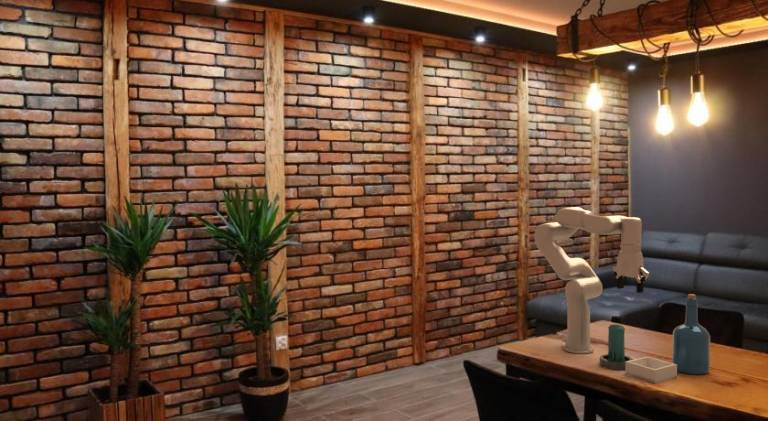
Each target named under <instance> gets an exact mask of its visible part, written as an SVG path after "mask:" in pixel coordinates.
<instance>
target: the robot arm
mask: <svg viewBox="0 0 768 421" xmlns="http://www.w3.org/2000/svg"><path fill="white" fill-rule="evenodd" d="M642 225H643V223H642V219H641V218H639V217H634V216H632V217H631V216H629V217H628V216H625V215H608V216H607V215H606V216H604V215H603V216H602V215H595V214H594V213H593V212H592V211H591V210H585V209H583V208H582V207H579V206H570V207H563V208H560V209H559V210H558V211H557V212H556V214H555V222H544V223H542V224H539V225H538V226H537V227H536V229H535V230H534V231H535V232H534V242H535V245H536V247H537V249H538V250H539V252H540V253H541V254H542V255H543V257H545V259H546V261H547V262H548V264H549V265H550V266H551V268H552V269H553V271H554V272H555V274H556V275H557V277H558V278H559V279H560V280H562V281H568V282H567V283H566V285H565V287H564V292H565V298H566V304H567V305H566V307H567V311H566V312H567V317H566V318H567V322H566V323H567V324H566V325H567V328H566V329H567V331H566V332H567V334H566V336H563V338H562V339H561V342H563V343H565V344H564V346H563V350H564V351H565V352H568V353H573V354H581V355H582V354H583V355H584V354H591V353H593V352H594V349H595V348H594V346H591V308H590V305H589V303H588V300H591V299H595V298H598V297H599V296H601V295H602V293H603V289H604V288H603V283H602V282H601V280H600V278H599V276H598V275H597V274H596V273H595V271H594V270H593V269H592V267H591V265H590V264H589V263H588V262H587V260H585V259H584V258H582V257H569V256H568V254H567V253H566V251H565V250H564V249H563V248H562V247H561V245H559V244H558V243H556V242H557V241H564V240H568V239H569V238H571V237H572V236H573V235H574V234H575V233H576V232H577V231H579V230H583V231H585V232H587V233H590V234H597V235H600V236H601V235H603V236H605V235H606V236H607V235H608V236H609V235H620V234H621V235H620V236H621V237H620V240H621V242H620V244H619V247H620V250H619V251H618V254H617V260H616V265H614V266H612V270H613V274H614V276H615V278H616V282H617V283H616V289H618V290H619V289H624V288H625V278H624V277H628V278H634V279H636V281H637V282H636V290H635V291H636V293H638V294H640V293H641V294H643V293H644V283H645V282H646V281H648V278H649V276H650V272H649V271H648V270H647V269H646V268H644V266H645V265H644V257H643V252H642V233H643V232H642V229H643V228H642Z"/></svg>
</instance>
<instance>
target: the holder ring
mask: <svg viewBox="0 0 768 421" xmlns="http://www.w3.org/2000/svg"><path fill="white" fill-rule="evenodd" d="M624 356H625V357H624V362H615V361H609V360H608V353H605V354H601V355H600V356H599V363H598V364H599V366H601V367H602V368H605V369H608V370H614V371H625V362H626V361H630V360H634V358H632V357H631V356H629V355H626V354H624Z"/></svg>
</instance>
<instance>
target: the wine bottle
mask: <svg viewBox="0 0 768 421" xmlns="http://www.w3.org/2000/svg"><path fill="white" fill-rule="evenodd" d="M696 296H697V295H696V294H694V293H689V294H688V296H687V297H686V300H685V322H684V323H683V324H681V325H677V326H675V328H674V329H673V331H672V357H671V358H672V360H671V361H672V362H671V363H673V364H677V372H679V373H681V374H682V373H683V374H686V375H687V374H688V375H693V376H694V375H696V376H697V375H706V374H707V373H709V371H710V364H711V335H710V333H709V331H708V330H707V329H706V328H705V327H703V325H702V324H700V323H699V320H698V319H699V318H698V317H699V316H698V314H699V313H698V310H699V309H698V307H699V304H698V298H697V297H696Z"/></svg>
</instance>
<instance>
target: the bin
mask: <svg viewBox="0 0 768 421" xmlns="http://www.w3.org/2000/svg"><path fill="white" fill-rule="evenodd" d="M624 371H625V375H626V376H629V377H632V378H634V379H635V378H636V379H639V380H642V381H644V382H645V381H646V382H648V383H652V384H659V383H662V382H666V381H669V380H674V379H677V377H678V371H677V364H673V363H672V362H670V361H666V360H662V359H658V358H654V357H651V356H648V355H647V356H643V357H639V358H635V359H634V358H633V360H630V361H626V362H625V370H624Z"/></svg>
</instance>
